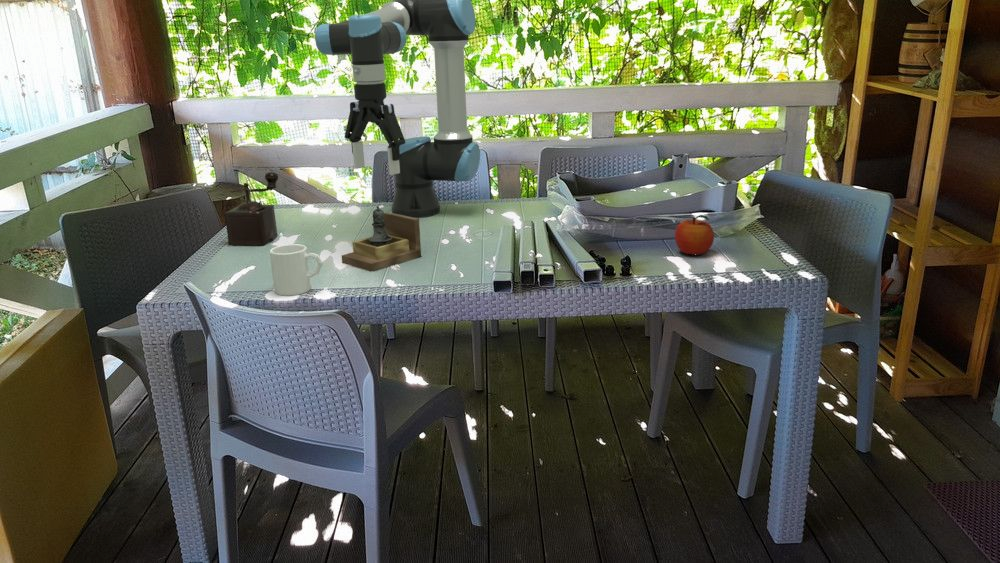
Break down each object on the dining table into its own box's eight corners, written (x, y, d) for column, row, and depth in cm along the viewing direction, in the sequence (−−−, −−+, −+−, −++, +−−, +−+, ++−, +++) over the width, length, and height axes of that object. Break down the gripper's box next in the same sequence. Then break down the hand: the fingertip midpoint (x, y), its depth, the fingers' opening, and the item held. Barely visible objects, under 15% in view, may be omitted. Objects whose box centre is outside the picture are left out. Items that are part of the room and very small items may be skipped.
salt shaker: (366, 251, 207) (363, 204, 203) (388, 247, 209) (385, 202, 206) (373, 256, 202) (369, 209, 198) (396, 253, 204) (392, 206, 200)
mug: (318, 297, 180) (313, 254, 177) (268, 295, 182) (263, 253, 179) (332, 285, 187) (328, 244, 184) (284, 283, 190) (279, 243, 187)
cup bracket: (391, 248, 216) (388, 212, 212) (421, 256, 208) (418, 218, 205) (342, 262, 205) (338, 224, 201) (372, 271, 197) (368, 231, 194)
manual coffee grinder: (265, 246, 222) (257, 181, 216) (227, 246, 223) (218, 181, 218) (287, 231, 236) (280, 170, 231) (251, 231, 238) (244, 170, 232)
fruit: (683, 246, 210) (684, 208, 207) (718, 251, 205) (721, 212, 201) (667, 255, 203) (669, 216, 200) (704, 260, 197) (706, 220, 194)
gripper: (325, 82, 199) (333, 167, 206) (391, 86, 183) (398, 179, 189) (350, 79, 204) (357, 163, 211) (416, 83, 188) (422, 173, 195)
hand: (376, 170), depth 200 cm, fingers open, 13 cm apart
